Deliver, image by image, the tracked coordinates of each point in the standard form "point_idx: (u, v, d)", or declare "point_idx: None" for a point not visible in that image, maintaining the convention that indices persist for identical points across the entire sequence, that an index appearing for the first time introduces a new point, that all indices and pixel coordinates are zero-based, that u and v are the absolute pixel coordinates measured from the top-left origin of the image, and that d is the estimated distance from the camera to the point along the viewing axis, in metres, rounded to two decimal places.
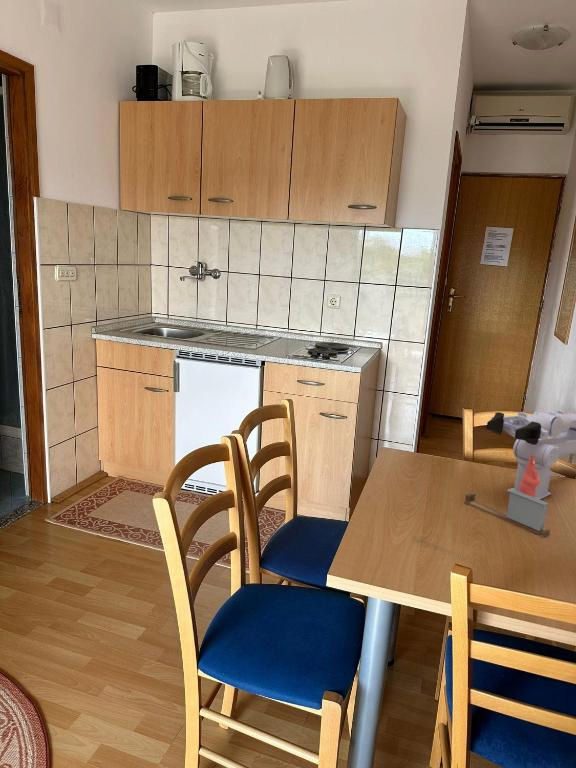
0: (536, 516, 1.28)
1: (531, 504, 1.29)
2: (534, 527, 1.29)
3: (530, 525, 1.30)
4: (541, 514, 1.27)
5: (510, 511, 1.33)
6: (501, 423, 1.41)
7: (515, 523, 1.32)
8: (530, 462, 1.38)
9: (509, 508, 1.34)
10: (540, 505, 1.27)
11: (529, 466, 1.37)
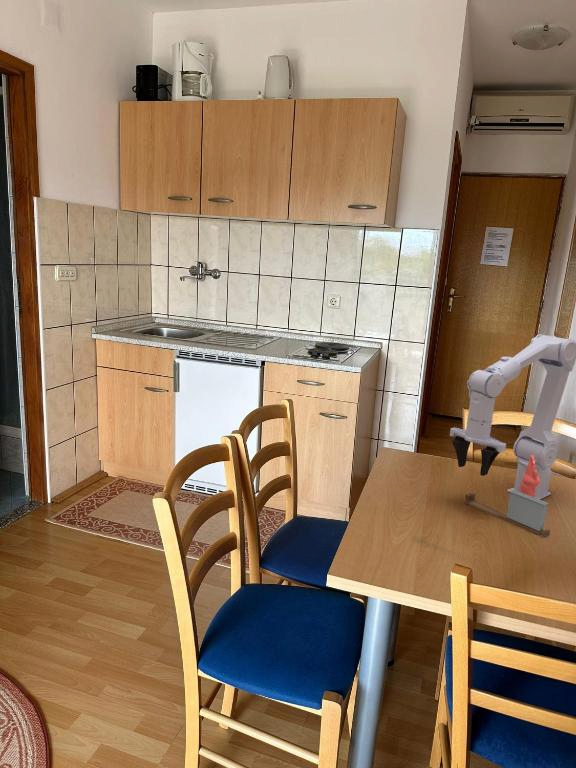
0: (536, 516, 1.28)
1: (531, 504, 1.29)
2: (534, 527, 1.29)
3: (530, 525, 1.30)
4: (541, 514, 1.27)
5: (510, 511, 1.33)
6: (464, 444, 1.38)
7: (515, 523, 1.32)
8: (530, 462, 1.38)
9: (509, 508, 1.34)
10: (540, 505, 1.27)
11: (529, 466, 1.37)
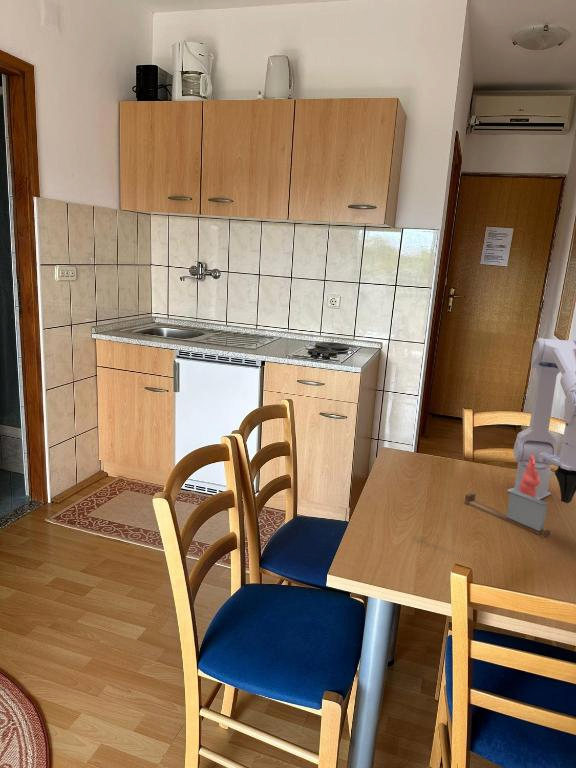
0: (536, 516, 1.28)
1: (531, 504, 1.29)
2: (534, 527, 1.29)
3: (530, 525, 1.30)
4: (541, 514, 1.27)
5: (510, 511, 1.33)
6: None
7: (515, 523, 1.32)
8: (530, 462, 1.38)
9: (509, 508, 1.34)
10: (540, 505, 1.27)
11: (529, 466, 1.37)
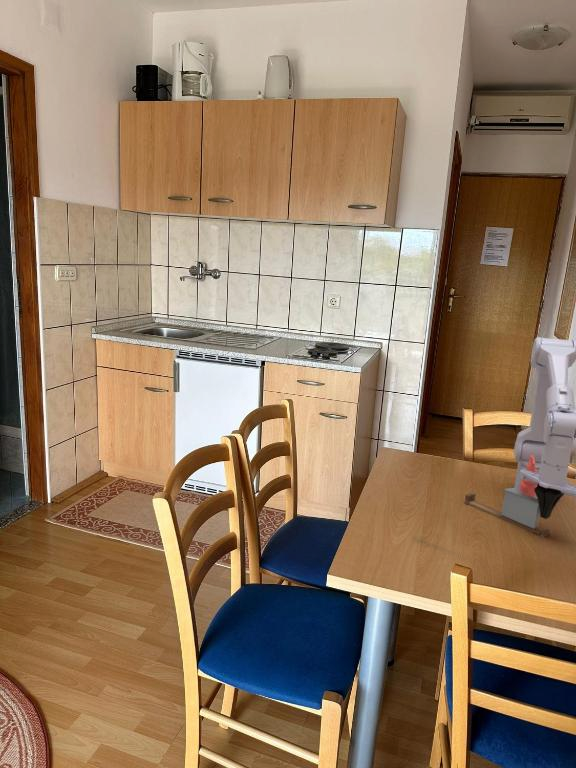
0: (531, 514, 1.29)
1: (525, 502, 1.30)
2: (528, 525, 1.30)
3: (524, 523, 1.31)
4: (535, 512, 1.28)
5: (505, 509, 1.35)
6: None
7: (515, 523, 1.32)
8: (530, 462, 1.38)
9: (504, 506, 1.35)
10: (534, 503, 1.28)
11: (529, 466, 1.37)
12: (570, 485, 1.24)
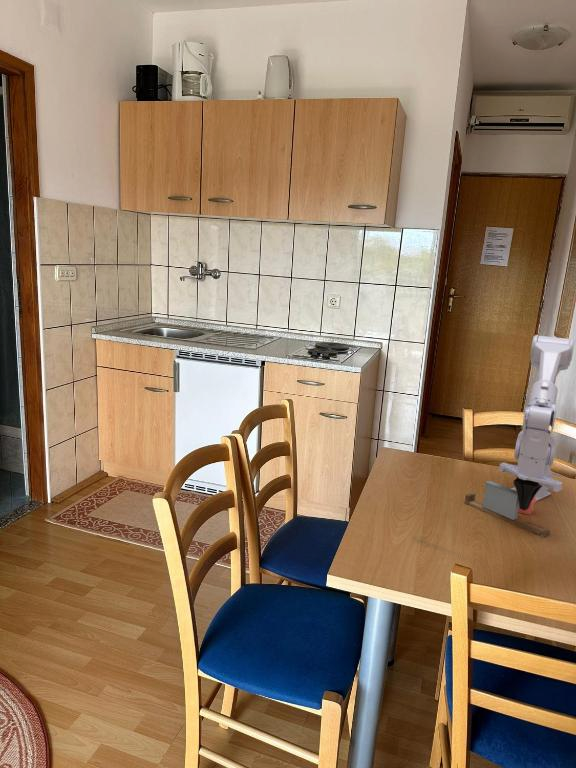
0: (510, 506, 1.33)
1: (505, 494, 1.34)
2: (508, 516, 1.34)
3: (505, 514, 1.35)
4: (515, 503, 1.32)
5: (486, 501, 1.38)
6: None
7: (515, 523, 1.32)
8: None
9: (485, 498, 1.39)
10: (514, 495, 1.32)
11: None
12: (548, 477, 1.28)
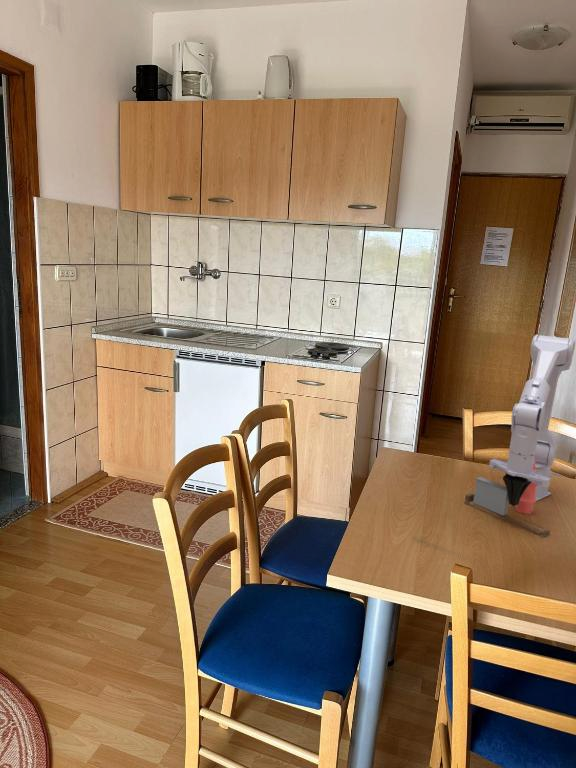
0: (500, 501, 1.35)
1: (495, 490, 1.36)
2: (498, 512, 1.36)
3: (495, 510, 1.37)
4: (504, 499, 1.34)
5: (476, 497, 1.41)
6: None
7: (515, 523, 1.32)
8: None
9: (476, 494, 1.41)
10: (503, 491, 1.34)
11: None
12: (536, 473, 1.30)
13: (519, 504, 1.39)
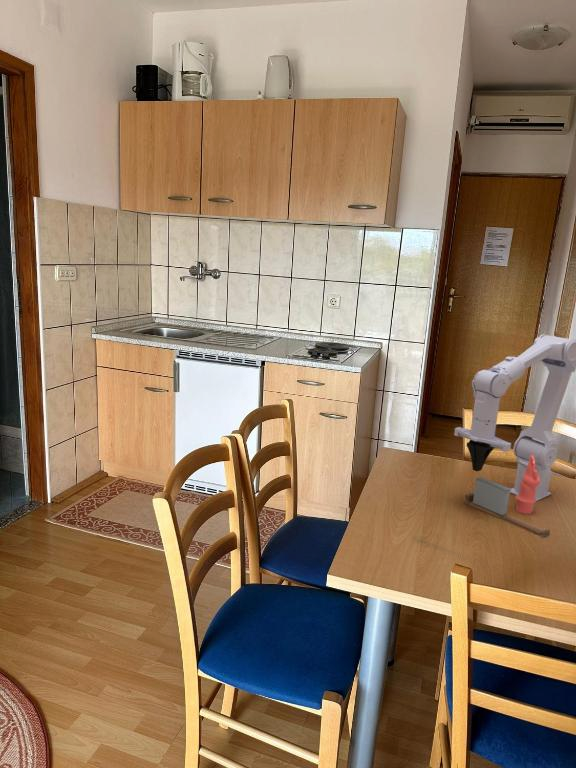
0: (500, 501, 1.35)
1: (495, 490, 1.36)
2: (498, 512, 1.36)
3: (494, 510, 1.37)
4: (504, 499, 1.34)
5: (476, 497, 1.41)
6: None
7: (515, 523, 1.32)
8: (530, 462, 1.38)
9: (475, 494, 1.41)
10: (503, 490, 1.34)
11: (529, 466, 1.37)
12: (498, 439, 1.34)
13: (519, 504, 1.39)
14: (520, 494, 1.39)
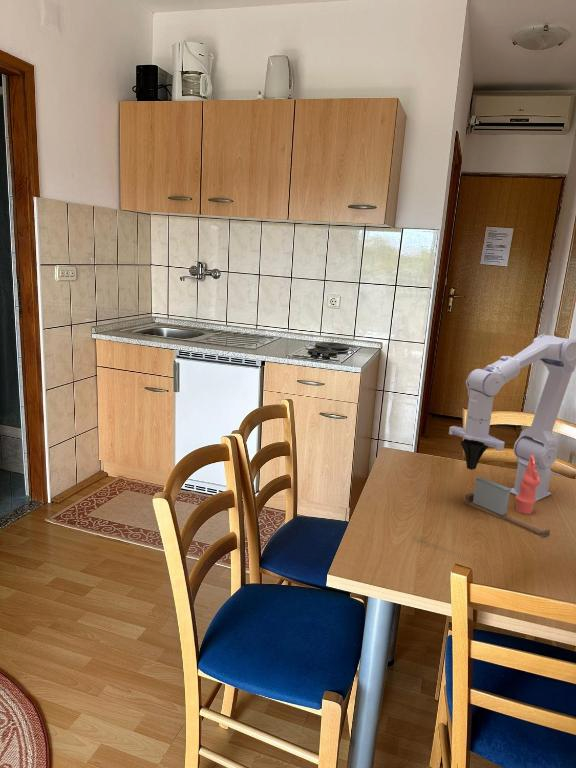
0: (500, 501, 1.35)
1: (495, 490, 1.36)
2: (498, 512, 1.36)
3: (494, 510, 1.37)
4: (504, 499, 1.34)
5: (476, 497, 1.41)
6: None
7: (515, 523, 1.32)
8: (530, 462, 1.38)
9: (475, 494, 1.41)
10: (503, 490, 1.34)
11: (529, 466, 1.37)
12: (492, 438, 1.35)
13: (519, 504, 1.39)
14: (520, 494, 1.39)
